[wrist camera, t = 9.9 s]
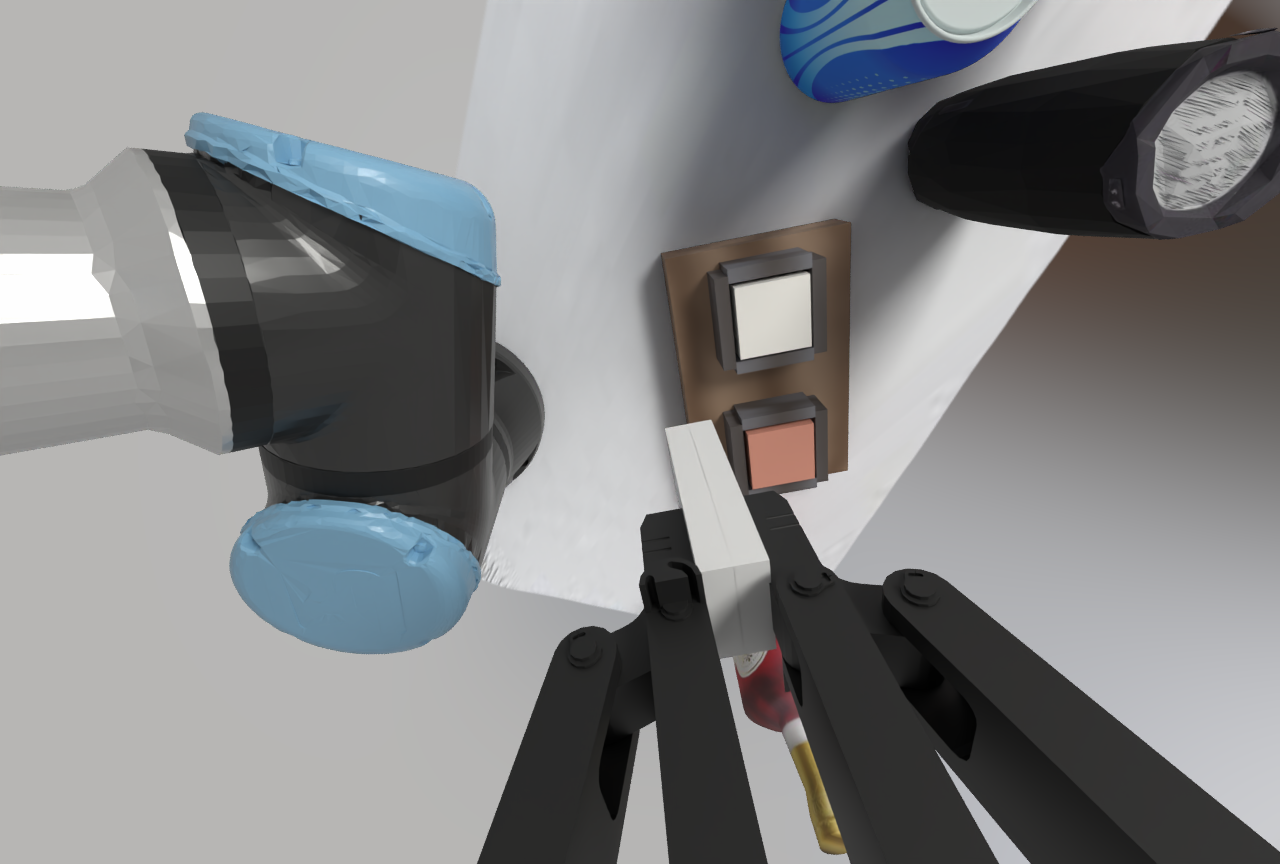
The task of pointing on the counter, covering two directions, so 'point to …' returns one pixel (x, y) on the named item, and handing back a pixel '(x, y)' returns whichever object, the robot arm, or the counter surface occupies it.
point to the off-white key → (771, 314)
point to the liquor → (787, 734)
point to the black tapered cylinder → (1112, 142)
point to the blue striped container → (887, 41)
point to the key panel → (776, 380)
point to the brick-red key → (780, 453)
